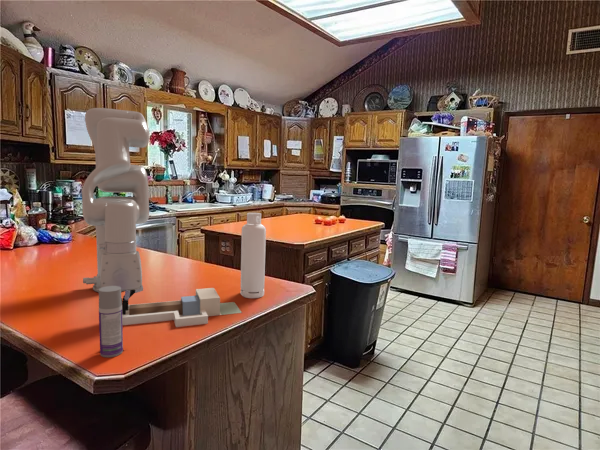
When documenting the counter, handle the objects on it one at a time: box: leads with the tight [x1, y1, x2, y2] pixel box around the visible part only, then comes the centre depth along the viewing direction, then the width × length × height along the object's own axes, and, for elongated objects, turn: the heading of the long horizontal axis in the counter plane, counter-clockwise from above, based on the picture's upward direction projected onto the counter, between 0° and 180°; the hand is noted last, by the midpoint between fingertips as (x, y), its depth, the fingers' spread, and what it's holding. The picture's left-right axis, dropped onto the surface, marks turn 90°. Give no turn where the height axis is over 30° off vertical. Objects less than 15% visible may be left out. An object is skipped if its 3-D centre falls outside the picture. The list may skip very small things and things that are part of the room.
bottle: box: [239, 212, 267, 299], centre depth 132 cm, size 8×8×28 cm
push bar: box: [128, 299, 183, 315], centre depth 110 cm, size 14×3×3 cm, turn 112°
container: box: [98, 286, 124, 358], centre depth 88 cm, size 5×5×15 cm
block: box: [180, 295, 200, 316], centre depth 114 cm, size 5×5×4 cm
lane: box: [122, 287, 243, 328], centre depth 111 cm, size 33×15×6 cm, turn 113°
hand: (122, 313), depth 107 cm, fingers closed
